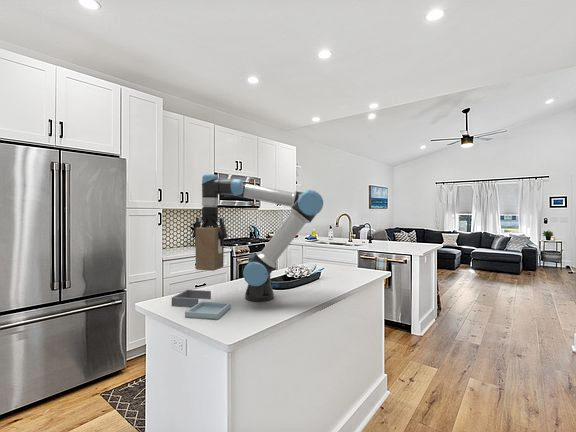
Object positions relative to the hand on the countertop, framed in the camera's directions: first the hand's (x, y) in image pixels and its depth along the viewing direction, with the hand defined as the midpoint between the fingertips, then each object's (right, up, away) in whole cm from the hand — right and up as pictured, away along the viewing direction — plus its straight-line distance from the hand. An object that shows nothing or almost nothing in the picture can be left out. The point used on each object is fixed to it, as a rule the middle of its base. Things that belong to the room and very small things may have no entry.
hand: (209, 252), depth 151 cm
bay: (-10, -26, +6) cm, 28 cm away
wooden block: (0, -8, 0) cm, 8 cm away
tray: (+2, -26, -10) cm, 28 cm away
